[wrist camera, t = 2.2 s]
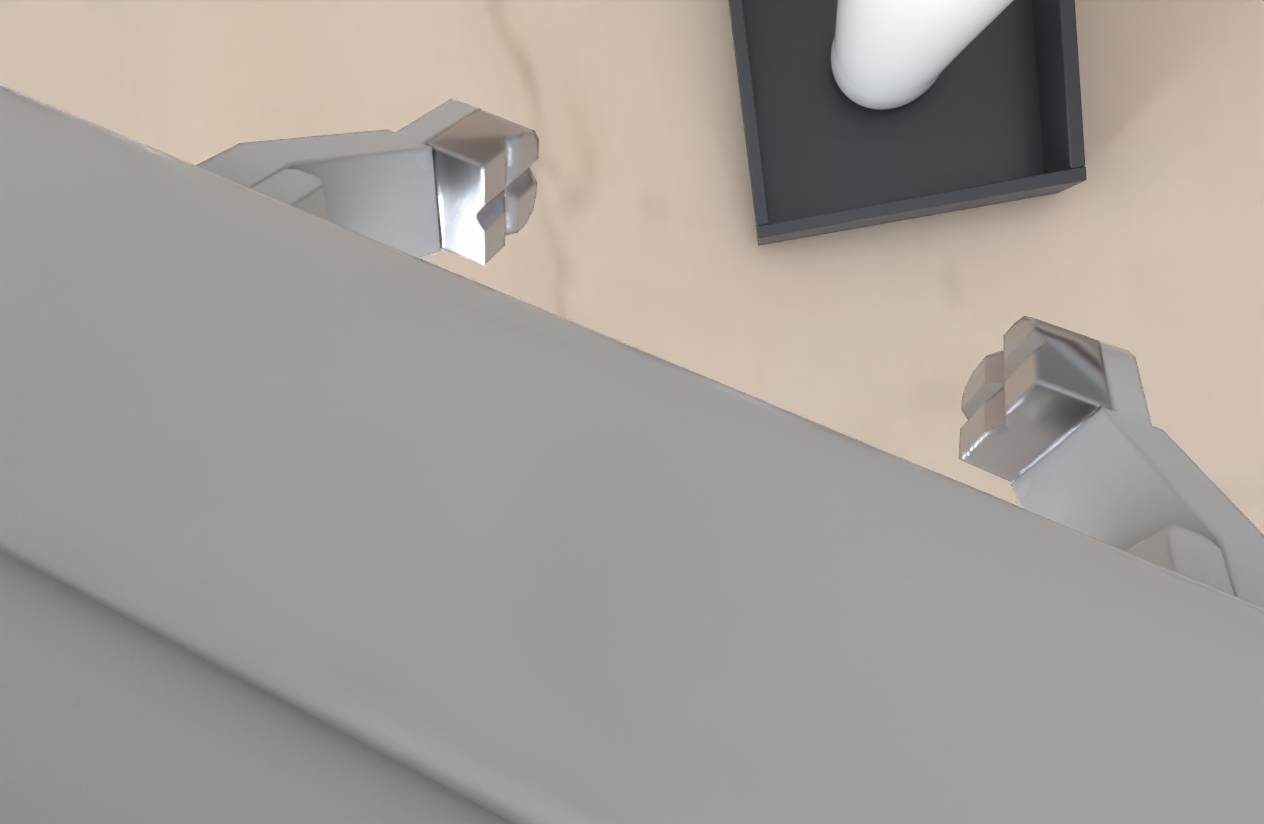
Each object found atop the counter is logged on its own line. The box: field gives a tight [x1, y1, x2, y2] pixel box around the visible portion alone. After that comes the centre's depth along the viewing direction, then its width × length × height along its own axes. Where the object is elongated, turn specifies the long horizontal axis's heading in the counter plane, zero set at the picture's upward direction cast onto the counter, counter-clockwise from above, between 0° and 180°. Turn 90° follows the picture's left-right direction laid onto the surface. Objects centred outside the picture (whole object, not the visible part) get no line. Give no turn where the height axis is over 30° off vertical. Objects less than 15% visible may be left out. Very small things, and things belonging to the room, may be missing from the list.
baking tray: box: [729, 0, 1086, 245], centre depth 29 cm, size 16×14×3 cm
